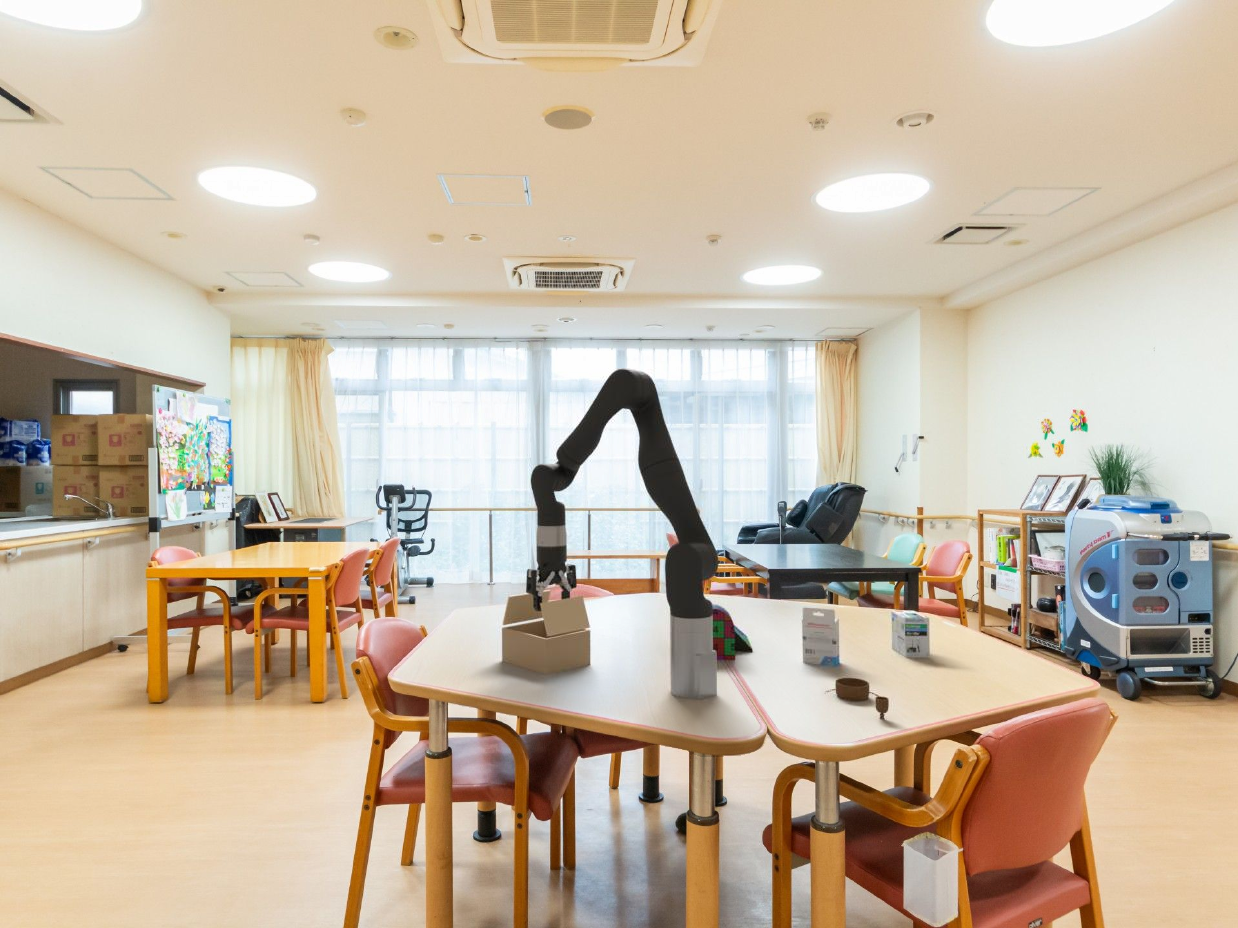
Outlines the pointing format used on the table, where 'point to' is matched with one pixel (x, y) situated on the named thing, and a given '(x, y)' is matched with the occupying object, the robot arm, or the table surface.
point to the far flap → (523, 608)
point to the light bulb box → (910, 634)
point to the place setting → (859, 693)
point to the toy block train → (727, 635)
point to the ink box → (820, 637)
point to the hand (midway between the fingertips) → (552, 608)
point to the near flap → (564, 615)
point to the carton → (545, 648)
